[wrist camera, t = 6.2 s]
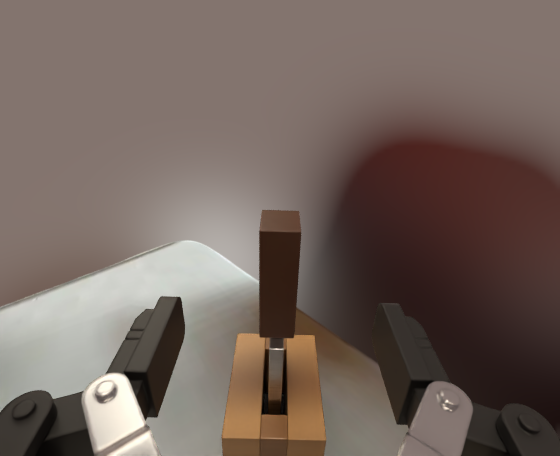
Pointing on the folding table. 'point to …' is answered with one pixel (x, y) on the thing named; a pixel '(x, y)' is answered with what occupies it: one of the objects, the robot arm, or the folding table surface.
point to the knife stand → (297, 401)
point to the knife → (278, 290)
